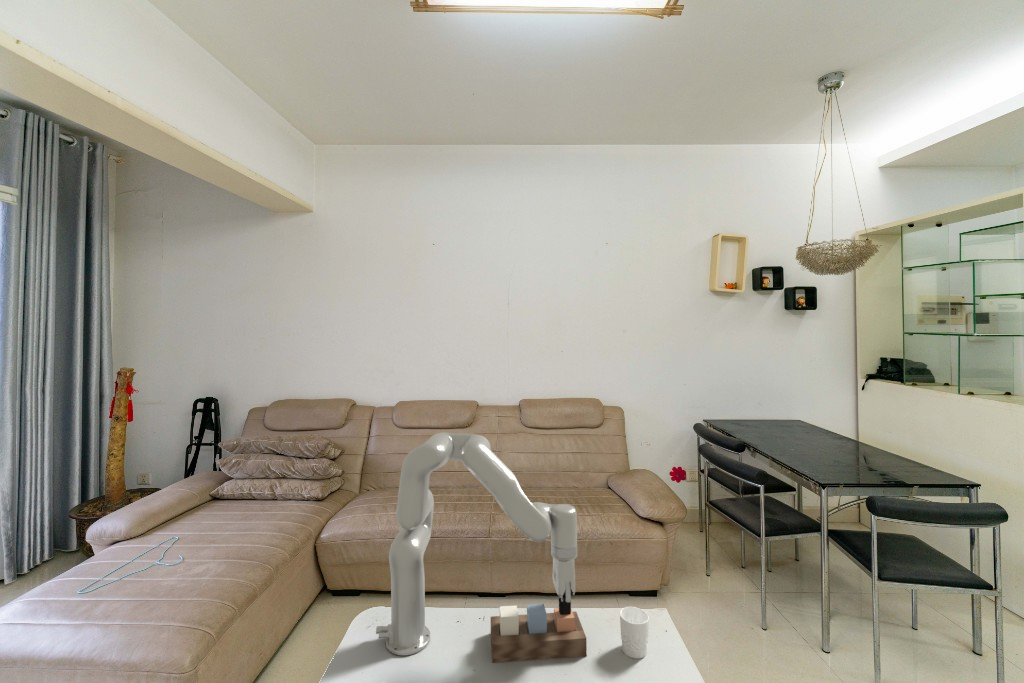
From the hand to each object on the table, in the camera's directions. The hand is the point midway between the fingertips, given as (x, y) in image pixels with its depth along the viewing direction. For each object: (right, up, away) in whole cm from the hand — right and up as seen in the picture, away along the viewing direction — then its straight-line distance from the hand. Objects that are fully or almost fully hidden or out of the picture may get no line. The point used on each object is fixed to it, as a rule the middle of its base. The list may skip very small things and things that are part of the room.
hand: (564, 612), depth 126 cm
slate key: (-8, -5, -1) cm, 9 cm away
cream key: (-16, -5, -1) cm, 17 cm away
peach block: (0, -6, 0) cm, 6 cm away
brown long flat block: (-8, -9, -1) cm, 12 cm away
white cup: (+19, -9, -3) cm, 21 cm away
